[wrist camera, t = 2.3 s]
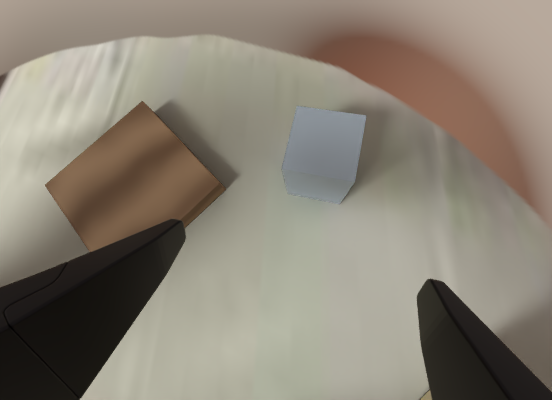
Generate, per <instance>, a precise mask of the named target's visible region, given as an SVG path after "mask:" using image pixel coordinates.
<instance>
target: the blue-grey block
mask: <svg viewBox="0 0 552 400" xmlns="http://www.w3.org/2000/svg"><path fill="white" fill-rule="evenodd" d="M365 121H366V115H359V114H352V113H345V112H338V111H331V110H324V109H317V108H309V107H302V106H297V107H296V111H295V116H294V120H293V124H292V128H291V132H290V136H289V140H288V144H287V148H286V153H285V157H284V161H283V165H282V172H283V176H284V180H285V184H286V188H287V192H288V194H291V195H296V196H301V197H306V198H311V199H316V200H321V201H326V202H331V203H336V204H340V203H341V201H342V200H343V199H344V197H345V196H346V194H347V193H348V191H349V190H350V188H351V187H352V186H353V184H354V183H355V178H356V173H357V167H358V161H359V156H360V150H361V144H362V139H363V133H364V127H365Z"/></svg>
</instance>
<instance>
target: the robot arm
mask: <svg viewBox="0 0 552 400" xmlns="http://www.w3.org/2000/svg"><path fill="white" fill-rule="evenodd" d="M185 238H186V235H185V229H184V223H183V221H181V220H178V219H173V218H172V219H169V220H167V221H164V222H162V223H159V224H157V225H155V226H152V227H150V228H147V229H145V230H143V231H140V232H138V233H135V234H133V235H131V236H128V237H126V238H123V239H121V240H118V241H116V242H114V243H111V244H109V245H106V246H104V247H102V248H99V249H97V250H94V251H92V252H89V253H87V254H85V255H82V256H80V257H77V258H75V259H72V260H70V261H69V262H65V263H63V264H60V265H58V266H56V267H53V268H51V269H48V270H46V271H43V272H41V273H38V274H36V275H33V276H30V277H28V278H25V279H22V280H20V281H17V282H14V283H11V284H9V285H6V286H3V287H0V400H80V398H81V397H82V396H83V395H84V393H85V392H86V390H87V389H88V387H89V386H90V384H91V383H92V382H93V380H94V379H95V377H96V376H97V374H98V373H99V371H100V370H101V369H102V367H103V366H104V364H105V363H106V361H107V360H108V358H109V357H110V356H111V354H112V353H113V351H114V350H115V348H116V347H117V345H118V344H119V343H120V341H121V340H122V338H123V337H124V335H125V334H126V332H127V331H128V330H129V328H130V327H131V325H132V324H133V322H134V321H135V319H136V318H137V317H138V315H139V314H140V312H141V311H142V309H143V308H144V306H145V305H146V304H147V302H148V301H149V299H150V298H151V296H152V295H153V293H154V292H155V291H156V289H157V288H158V286H159V285H160V283H161V282H162V280H163V279H164V277H165V276H166V274H167V273H168V271H169V269H170V267H171V266H172V264H173V262H174V260H175V258H176V256H177V255H178V253H179V251H180V249H181V247H182V245H183V244H184V242H185ZM417 307H418V318H419V329H420V340H421V347H422V353H423V358H424V363H425V368H426V373H427V377H428V382H429V387H430V392H431V397H432V400H552V392H551V391H550V390H549V389H548V388H547V387H546V386H545V385H544V384H543V383H542V382H541V381H540V380H539V379H538V378H537V377H536V376H535V375H534V374H533V373H532V372H531V371H530V370H529V369H528V368H527V367H526V366H525V365H524V364H523V363H522V362H521V361H520V360H519V359H518V357H517V356H516V355H515V354H514V353H513V352H512V351H511V350H510V349H509V348H508V347H507V346H506V345H505V344H504V343H503V342H502V341H501V340H500V339H499V338H498V337H497V336H496V335H495V334H494V333H493V332H492V331H491V330H490V329H489V328H488V327H487V326H486V325H485V324H484V323H483V322H482V321H481V320H480V319H479V318H478V317H477V316H476V315H475V314H474V313H473V312H472V311H471V310H470V309H469V308H468V307H467V306H466V305H465V304H464V303H463V302H462V300H461V299H460V298H459V297H458V296H457V295H456V294H455V293H454V292H453V291H452V290H451V289H450V288H449V287H448V286H447V285H446V284H445V283H444V282H442V281H439V280H434V279H428V280H427V281H426V282H425V283H424V285H423V286H422V288H421V290H420V291H419V293H418V295H417Z"/></svg>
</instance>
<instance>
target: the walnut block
mask: <svg viewBox="0 0 552 400" xmlns="http://www.w3.org/2000/svg"><path fill="white" fill-rule="evenodd" d="M45 186H46V188H47V189H48V191H49V192H50V194H51V195H52V197H53V198H54V200H55V201H56V203H57V204H58V206H59V207H60V209H61V210H62V211H63V213H64V214H65V216H66V217H67V219H68V220H69V222H70V223H71V225H72V226H73V228H74V229H75V231H76V232H77V234H78V235H79V237H80V238H81V240H82V241H83V243H84V244H85V246H86V247H87V248H88V250H89V251H90V252H92V251H94V250H97V249H99V248H102V247H104V246H106V245H109V244H111V243H114V242H116V241H118V240H121V239H123V238H126V237H128V236H131V235H133V234H135V233H138V232H140V231H143V230H145V229H147V228H150V227H152V226H155V225H157V224H159V223H162V222H164V221H167V220H169V219H172V218H173V219H178V220H181V221H183V223H184V228H185V227H186V226H187V225H188V224H190V223H191V222H192V221H193V220H194V219H195V218H196V217H197V216H198V215H199V214H200V213H201V212H202V211H203V210H205V209H206V208H207V207H208V206H209V205H210V204H211V203H212V202H213V201H214V200H215V199H216V198H217V197H218V196H220V195H221V194H222V193H223V192H224V191H225V190H226V188H225V187H224V186H223V185H222V184H221V183H220V182H219V181H218V180H217V179H216V178H215V177H214V175H213V174H212V173H211V172H210V171H209V170H208V169H207V168H206V167H205V166H204V165H203V164H202V163H201V162H200V161H199V160H198V158H197V157H196V156H195V155H194V154H193V153H192V152H191V151H190V150H189V149H188V148H187V147H186V146H185V145H184V144H183V142H182V141H181V140H180V139H179V138H178V137H177V136H176V135H175V134H174V133H173V132H172V131H171V130H170V129H169V128H168V127H167V125H166V124H165V123H164V122H163V121H162V120H161V119H160V118H159V117H158V116H157V115H156V114H155V113H154V112H153V111H152V110H151V109H150V108H149V107H148V106H147V105H146V104H145V103H144V102H143V101H142V102H141V103H139V104H138V105H137V106H136V107H135V108H134V109H132V110H131V111H130V112H129V113H128V114H127V115H126V116H124V117H123V118H122V119H121V120H120V121H119V122H117V123H116V124H115V125H114V126H113V127H112V128H110V129H109V130H108V131H107V132H106V133H105V134H103V135H102V136H101V137H100V138H99V139H98V140H96V141H95V142H94V143H93V144H92V145H91V146H90V147H88V148H87V149H86V150H85V151H84V152H83V153H81V154H80V155H79V156H78V157H77V158H76V159H74V160H73V161H72V162H71V163H70V164H69V165H67V166H66V167H65V168H64V169H63V170H62V171H60V172H59V173H58V174H57V175H56V176H55V177H54V178H52V179H51V180H50V181H49V182H48V183H47V184H45Z"/></svg>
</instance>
